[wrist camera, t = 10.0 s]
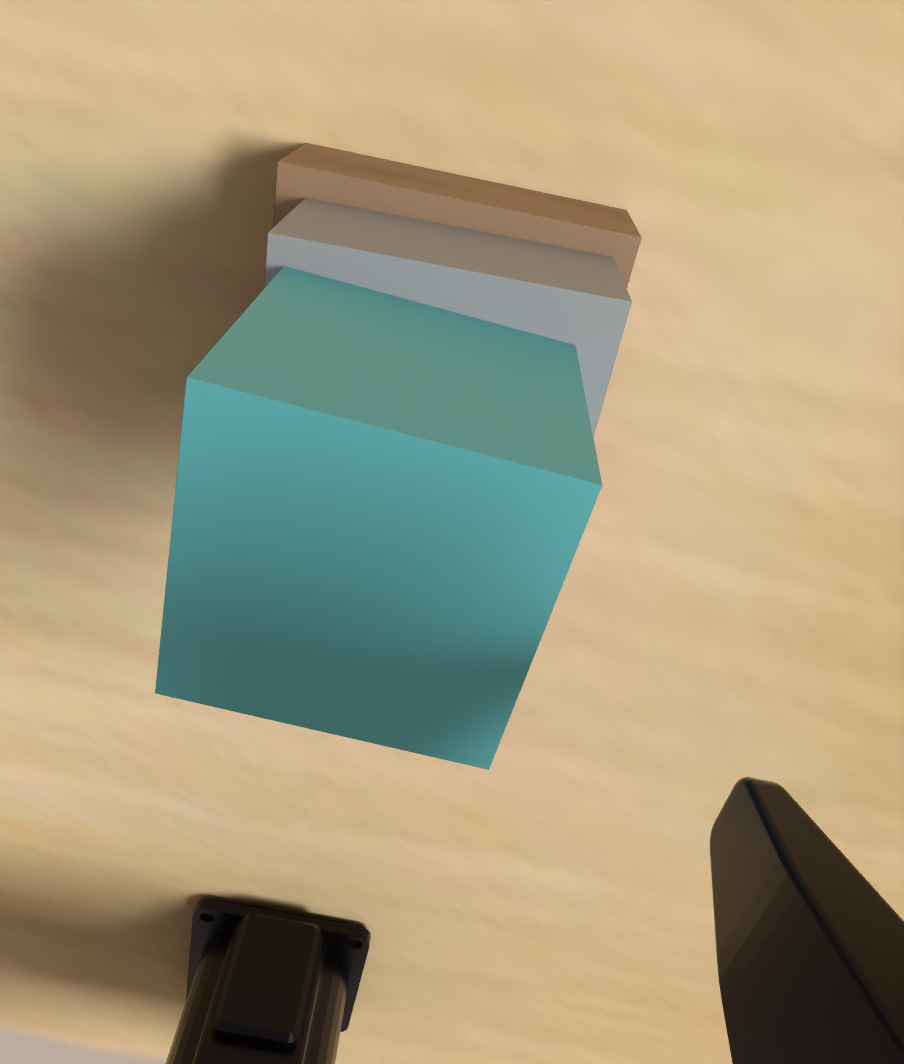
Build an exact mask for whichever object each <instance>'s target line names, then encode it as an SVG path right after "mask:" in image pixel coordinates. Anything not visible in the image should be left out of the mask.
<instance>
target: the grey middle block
mask: <svg viewBox="0 0 904 1064" xmlns="http://www.w3.org/2000/svg"><path fill="white" fill-rule="evenodd" d="M284 266H286V267H290V268H294V269H297V270H301V271H305V272H308V273H312V274H316V275H319V276H323V277H327V278H330V279H334V280H338V281H342V282H345V283H349V284H353V285H356V286H360V287H364V288H367V289H371V290H375V291H378V292H382V293H386V294H389V295H393V296H397V297H400V298H404V299H408V300H411V301H415V302H419V303H422V304H426V305H430V306H433V307H437V308H441V309H444V310H448V311H452V312H455V313H459V314H463V315H466V316H470V317H474V318H477V319H481V320H485V321H488V322H492V323H496V324H500V325H503V326H507V327H511V328H514V329H518V330H522V331H525V332H529V333H533V334H536V335H540V336H544V337H547V338H551V339H555V340H558V341H562V342H566V343H569V344H573V345H576V349H577V355H578V360H579V365H580V371H581V376H582V381H583V386H584V392H585V397H586V402H587V408H588V413H589V418H590V423H591V429H592V434H593V436H594V433H595V429H596V426H597V422H598V419H599V415H600V412H601V408H602V405H603V401H604V397H605V394H606V390H607V387H608V383H609V380H610V376H611V373H612V369H613V366H614V362H615V359H616V355H617V352H618V348H619V345H620V341H621V338H622V334H623V331H624V327H625V323H626V320H627V316H628V313H629V309H630V306H631V302H632V301H631V299H630V296H629V294H628V292H627V289H626V287H625V284H624V282H623V279H622V277H621V274H620V272H619V270H618V267H617V265H616V262H615V260H614V257H612V256H606V255H601V254H596V253H591V252H586V251H580V250H575V249H570V248H565V247H560V246H554V245H549V244H544V243H539V242H534V241H528V240H523V239H518V238H513V237H508V236H502V235H497V234H492V233H487V232H482V231H476V230H471V229H466V228H461V227H456V226H450V225H445V224H440V223H435V222H429V221H424V220H419V219H414V218H409V217H403V216H398V215H393V214H388V213H383V212H377V211H372V210H367V209H362V208H356V207H351V206H346V205H341V204H336V203H330V202H325V201H320V200H315V199H310V198H305V199H304V200H303V201H302V202H301V203H300V204H298V205H297V206H296V207H295V208H294V209H293V210H292V211H291V212H290V213H289V214H288V215H287V216H285V217H284V218H283V219H282V220H281V221H280V222H279V223H278V224H277V225H276V226H275V227H274V228H272V229H271V230H270V231H269V232H268V241H267V258H266V275H265V287H266V286H267V285H268V284H269V283H270V282H271V281H272V279H273V278H274V277H275V276H276V275H277V274H278V273H279V271H280V270H281V269H282V268H283V267H284Z"/></svg>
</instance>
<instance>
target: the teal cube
mask: <svg viewBox="0 0 904 1064" xmlns="http://www.w3.org/2000/svg"><path fill="white" fill-rule="evenodd" d="M601 487H602V482H601V476H600V471H599V466H598V460H597V455H596V450H595V445H594V439H593V434H592V429H591V423H590V418H589V413H588V408H587V402H586V397H585V392H584V386H583V381H582V376H581V371H580V365H579V360H578V355H577V349H576V345H573V344H569V343H566V342H562V341H558V340H555V339H551V338H547V337H544V336H540V335H536V334H533V333H529V332H525V331H522V330H518V329H514V328H511V327H507V326H503V325H500V324H496V323H492V322H488V321H485V320H481V319H477V318H474V317H470V316H466V315H463V314H459V313H455V312H452V311H448V310H444V309H441V308H437V307H433V306H430V305H426V304H422V303H419V302H415V301H411V300H408V299H404V298H400V297H397V296H393V295H389V294H386V293H382V292H378V291H375V290H371V289H367V288H364V287H360V286H356V285H353V284H349V283H345V282H342V281H338V280H334V279H330V278H327V277H323V276H319V275H316V274H312V273H308V272H305V271H301V270H297V269H294V268H290V267H286V266H284V267H283V268H282V269H281V270H280V271H279V273H278V274H277V275H276V276H275V277H274V278H273V279H272V281H271V282H270V283H269V284H268V285H267V286H266V287H265V289H264V290H263V291H262V292H261V293H260V294H259V295H258V297H257V298H256V299H255V300H254V301H253V302H252V303H251V305H250V306H249V307H248V308H247V309H246V310H245V311H244V313H243V314H242V315H241V316H240V317H239V318H238V319H237V321H236V322H235V323H234V324H233V325H232V326H231V327H230V329H229V330H228V331H227V332H226V333H225V334H224V335H223V337H222V338H221V339H220V340H219V341H218V342H217V343H216V345H215V346H214V347H213V348H212V349H211V350H210V351H209V353H208V354H207V355H206V356H205V357H204V358H203V359H202V360H201V362H200V363H199V364H198V365H197V366H196V367H195V368H194V370H193V371H192V372H191V373H190V374H189V375H188V376H187V380H186V390H185V400H184V410H183V420H182V430H181V440H180V450H179V460H178V470H177V480H176V490H175V500H174V510H173V520H172V530H171V540H170V550H169V560H168V570H167V580H166V590H165V600H164V610H163V620H162V630H161V640H160V650H159V660H158V670H157V680H156V690H155V693H156V694H160V695H165V696H169V697H173V698H178V699H182V700H187V701H191V702H195V703H200V704H204V705H208V706H213V707H217V708H222V709H226V710H230V711H235V712H239V713H243V714H248V715H252V716H256V717H261V718H265V719H270V720H274V721H278V722H283V723H287V724H291V725H296V726H300V727H305V728H309V729H313V730H318V731H322V732H326V733H331V734H335V735H339V736H344V737H348V738H353V739H357V740H361V741H366V742H370V743H374V744H379V745H383V746H388V747H392V748H396V749H401V750H405V751H409V752H414V753H418V754H423V755H427V756H431V757H436V758H440V759H444V760H449V761H453V762H457V763H462V764H466V765H471V766H475V767H479V768H484V769H488V770H489V768H490V765H491V763H492V760H493V758H494V755H495V753H496V750H497V748H498V745H499V743H500V740H501V738H502V735H503V733H504V730H505V728H506V725H507V723H508V720H509V718H510V715H511V713H512V710H513V708H514V705H515V703H516V700H517V698H518V695H519V693H520V690H521V688H522V685H523V682H524V680H525V677H526V675H527V672H528V670H529V667H530V665H531V662H532V660H533V657H534V655H535V652H536V650H537V647H538V645H539V642H540V640H541V637H542V635H543V632H544V630H545V627H546V625H547V622H548V620H549V617H550V615H551V612H552V610H553V607H554V605H555V602H556V600H557V597H558V595H559V592H560V590H561V587H562V585H563V582H564V580H565V577H566V575H567V572H568V570H569V567H570V564H571V562H572V559H573V557H574V554H575V552H576V549H577V547H578V544H579V542H580V539H581V537H582V534H583V532H584V529H585V527H586V524H587V522H588V519H589V517H590V514H591V512H592V509H593V507H594V504H595V502H596V499H597V497H598V494H599V492H600V489H601Z"/></svg>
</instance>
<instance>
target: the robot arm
mask: <svg viewBox="0 0 904 1064" xmlns="http://www.w3.org/2000/svg"><path fill="white" fill-rule="evenodd" d="M710 857H711V873H712V888H713V904H714V920H715V935H716V951H717V964H718V975H719V984H720V991H721V998H722V1005H723V1010H724V1016H725V1022H726V1028H727V1034H728V1039H729V1045H730V1051H731V1057H732V1062H733V1064H904V921H903V920H902V919H901V918H900V917H899V915H898V914H897V913H896V912H895V911H894V910H893V909H892V908H891V907H890V905H889V904H888V903H887V902H886V901H885V900H884V899H883V898H882V897H881V895H880V894H879V893H878V892H877V891H876V890H875V889H874V888H873V887H872V885H871V884H870V883H869V882H868V881H867V880H866V879H865V878H864V877H863V875H862V874H861V873H860V872H859V871H858V870H857V869H856V868H855V867H854V866H853V864H852V863H851V862H850V861H849V860H848V859H847V858H846V857H845V856H844V854H843V853H842V852H841V851H840V850H839V849H838V848H837V847H836V846H835V844H834V843H833V842H832V841H831V840H830V839H829V838H828V837H827V836H826V834H825V833H824V832H823V831H822V830H821V829H820V828H819V827H818V826H817V824H816V823H815V822H814V821H813V820H812V819H811V818H810V817H809V816H808V814H807V813H806V812H805V811H804V810H803V809H802V808H801V807H800V806H799V804H798V803H797V802H796V801H795V800H794V799H793V798H792V797H791V796H790V794H789V793H788V792H787V791H786V790H785V789H784V788H783V787H782V786H780V785H779V784H777V783H774V782H770V781H765V780H760V779H755V778H750V777H745V778H742V779H740V780H739V781H738V782H737V783H736V784H735V786H734V788H733V789H732V791H731V793H730V795H729V797H728V799H727V800H726V802H725V804H724V806H723V808H722V810H721V811H720V813H719V815H718V817H717V819H716V821H715V823H714V825H713V828H712V831H711V836H710ZM370 938H371V935H370V932H369V931H368V930H367V929H365V928H363V927H359V926H354V925H349V924H343V923H338V922H332V921H327V920H321V919H316V918H310V917H305V916H299V915H294V914H288V913H283V912H277V911H272V910H266V909H261V908H255V907H250V906H244V905H239V904H233V903H228V902H222V901H217V900H211V899H204V900H201V901H199V902H198V903H197V905H196V908H195V911H194V914H193V922H192V934H191V946H190V959H189V971H188V983H187V995H186V1003H185V1006H184V1009H183V1012H182V1015H181V1018H180V1021H179V1024H178V1028H177V1031H176V1034H175V1037H174V1040H173V1043H172V1046H171V1049H170V1052H169V1055H168V1058H167V1061H166V1064H335V1060H336V1054H337V1048H338V1042H339V1036H340V1032H343V1031H345V1030H346V1029H347V1028H348V1025H349V1021H350V1017H351V1014H352V1010H353V1006H354V1002H355V998H356V995H357V991H358V987H359V983H360V980H361V976H362V972H363V968H364V964H365V961H366V957H367V953H368V949H369V944H370Z"/></svg>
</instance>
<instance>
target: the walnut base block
mask: <svg viewBox="0 0 904 1064" xmlns="http://www.w3.org/2000/svg"><path fill="white" fill-rule="evenodd" d="M305 198H310V199H315V200H320V201H325V202H330V203H336V204H341V205H346V206H351V207H356V208H362V209H367V210H372V211H377V212H383V213H388V214H393V215H398V216H403V217H409V218H414V219H419V220H424V221H429V222H435V223H440V224H445V225H450V226H456V227H461V228H466V229H471V230H476V231H482V232H487V233H492V234H497V235H502V236H508V237H513V238H518V239H523V240H528V241H534V242H539V243H544V244H549V245H554V246H560V247H565V248H570V249H575V250H580V251H586V252H591V253H596V254H601V255H606V256H612V257H614V260H615V262H616V265H617V267H618V270H619V272H620V274H621V277H622V279H623V282H624V284H625V287H626V289H627V285H628V282H629V278H630V275H631V272H632V268H633V265H634V261H635V258H636V254H637V251H638V248H639V244H640V241H641V235H640V234H639V232H638V230H637V228H636V226H635V225H634V223H633V221H632V219H631V217H630V216H629V214H628V212H627V210H624V209H619V208H614V207H609V206H604V205H600V204H595V203H590V202H585V201H581V200H576V199H571V198H566V197H561V196H557V195H552V194H547V193H542V192H538V191H533V190H528V189H523V188H519V187H514V186H509V185H504V184H499V183H495V182H490V181H485V180H480V179H476V178H471V177H466V176H461V175H456V174H452V173H447V172H442V171H437V170H433V169H428V168H423V167H418V166H413V165H409V164H404V163H399V162H394V161H390V160H385V159H380V158H375V157H370V156H366V155H361V154H356V153H351V152H347V151H342V150H337V149H332V148H328V147H323V146H318V145H313V144H308V143H305V144H304V145H302V146H301V147H299V148H298V149H296V150H295V151H293V152H292V153H290V154H289V155H287V156H286V157H284V158H283V159H281V160H280V161H278V168H277V182H276V195H275V208H274V222H273V228H274V227H275V226H276V225H277V224H278V223H279V222H280V221H281V220H282V219H283V218H284V217H285V216H287V215H288V214H289V213H290V212H291V211H292V210H293V209H294V208H295V207H296V206H297V205H298V204H300V203H301V202H302V201H303V200H304V199H305Z"/></svg>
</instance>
